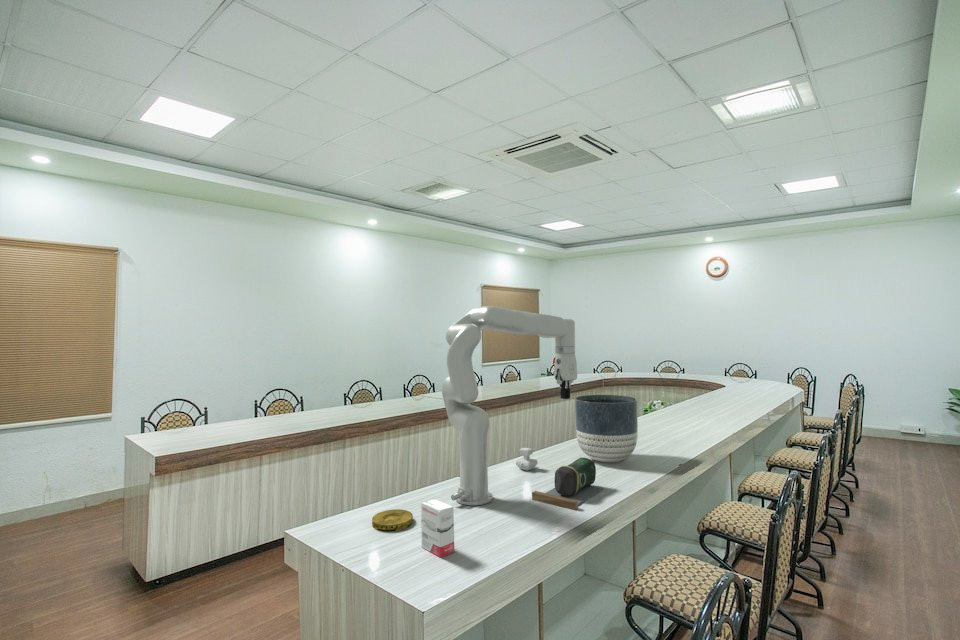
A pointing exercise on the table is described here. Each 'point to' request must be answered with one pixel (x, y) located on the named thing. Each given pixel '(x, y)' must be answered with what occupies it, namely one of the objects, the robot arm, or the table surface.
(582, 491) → the mat
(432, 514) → the ink box
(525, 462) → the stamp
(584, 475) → the coffee jar
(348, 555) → the table surface
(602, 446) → the planter
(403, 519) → the golden flat disc
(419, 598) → the table surface
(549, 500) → the rail
